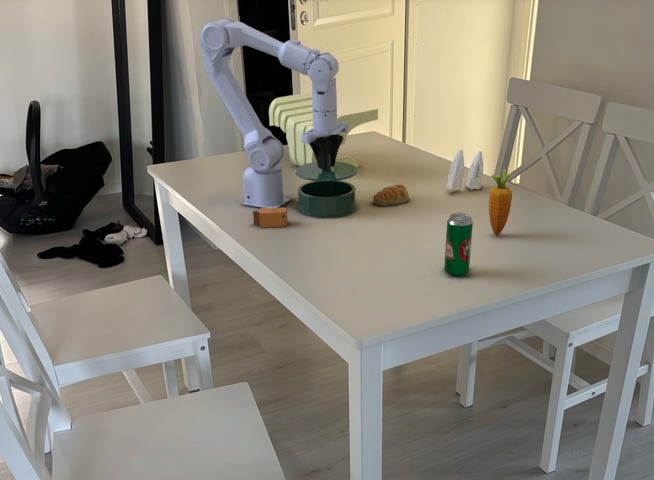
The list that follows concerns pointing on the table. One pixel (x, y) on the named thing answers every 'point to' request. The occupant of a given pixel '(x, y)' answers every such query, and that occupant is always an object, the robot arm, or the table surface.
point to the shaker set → (458, 172)
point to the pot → (326, 198)
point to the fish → (270, 217)
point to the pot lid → (326, 171)
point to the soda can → (458, 244)
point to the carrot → (499, 203)
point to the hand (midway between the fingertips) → (326, 167)
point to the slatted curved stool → (308, 125)
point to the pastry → (391, 195)
